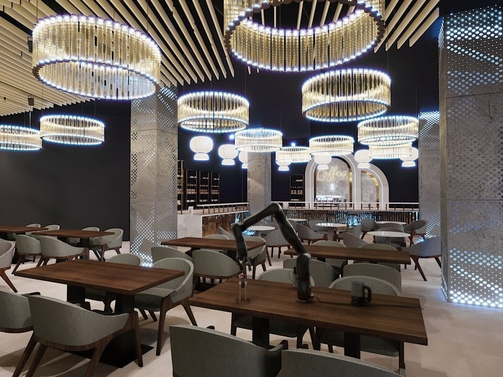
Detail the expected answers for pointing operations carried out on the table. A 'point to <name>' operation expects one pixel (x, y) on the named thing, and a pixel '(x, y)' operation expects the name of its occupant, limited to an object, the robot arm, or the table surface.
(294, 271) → the glass holder
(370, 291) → the milk frother
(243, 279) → the lever
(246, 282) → the toaster bracket
